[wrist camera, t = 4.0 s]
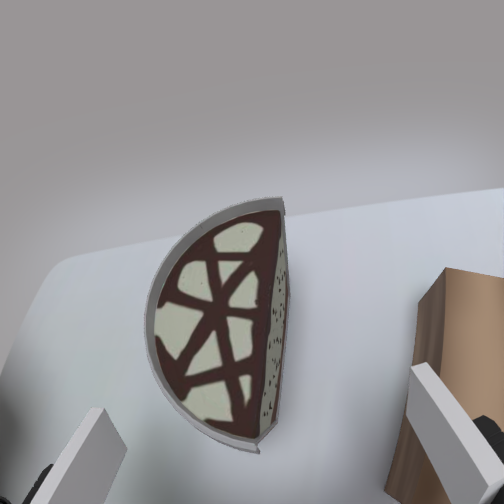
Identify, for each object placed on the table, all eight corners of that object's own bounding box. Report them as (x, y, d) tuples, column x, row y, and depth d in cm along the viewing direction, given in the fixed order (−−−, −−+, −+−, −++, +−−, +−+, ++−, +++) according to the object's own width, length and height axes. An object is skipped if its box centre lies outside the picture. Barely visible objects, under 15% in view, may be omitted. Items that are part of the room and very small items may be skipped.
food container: (213, 273, 26) (169, 189, 17) (291, 277, 24) (282, 187, 16) (186, 430, 19) (107, 425, 11) (274, 443, 18) (252, 459, 10)
